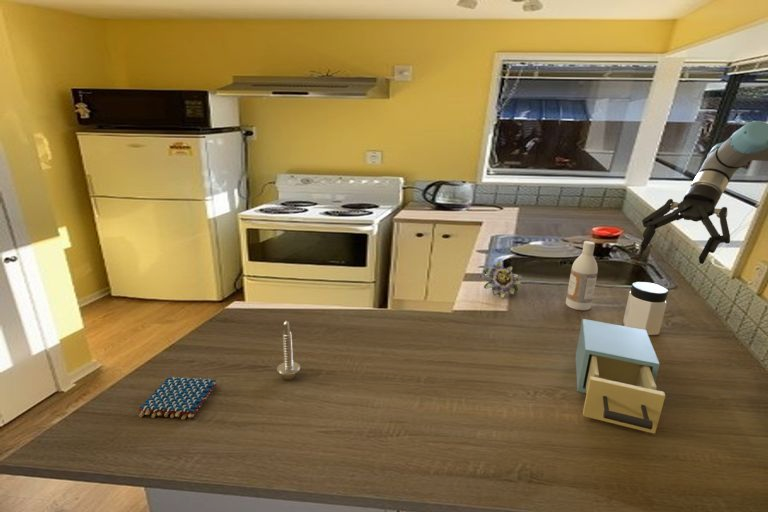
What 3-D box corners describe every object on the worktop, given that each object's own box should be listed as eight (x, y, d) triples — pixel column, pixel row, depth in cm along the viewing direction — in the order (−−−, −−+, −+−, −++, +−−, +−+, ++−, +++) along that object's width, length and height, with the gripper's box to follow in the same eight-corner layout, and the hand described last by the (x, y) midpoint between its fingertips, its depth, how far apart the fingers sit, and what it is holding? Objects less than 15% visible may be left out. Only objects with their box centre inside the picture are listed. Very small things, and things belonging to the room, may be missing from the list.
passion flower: (499, 313, 134) (485, 288, 127) (485, 293, 143) (471, 270, 137) (530, 294, 133) (518, 268, 126) (513, 276, 142) (501, 251, 136)
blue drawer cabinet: (648, 407, 83) (659, 364, 79) (577, 391, 87) (585, 349, 84) (636, 368, 96) (646, 329, 93) (575, 356, 100) (582, 318, 97)
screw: (296, 367, 93) (304, 379, 89) (274, 374, 90) (281, 386, 86) (293, 313, 88) (302, 323, 85) (270, 318, 86) (278, 328, 82)
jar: (643, 320, 119) (653, 281, 115) (666, 334, 111) (677, 292, 108) (615, 322, 118) (623, 282, 114) (636, 336, 110) (646, 294, 106)
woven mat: (167, 383, 86) (166, 374, 85) (218, 386, 86) (217, 377, 85) (136, 417, 76) (134, 408, 76) (194, 421, 76) (192, 411, 75)
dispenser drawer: (661, 456, 69) (673, 416, 67) (584, 436, 73) (592, 397, 71) (642, 390, 86) (651, 356, 84) (580, 376, 90) (586, 344, 88)
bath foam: (561, 301, 130) (572, 238, 124) (583, 301, 131) (595, 239, 124) (571, 311, 124) (583, 245, 118) (595, 311, 124) (607, 246, 118)
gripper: (763, 208, 109) (728, 275, 105) (656, 193, 127) (623, 249, 123) (764, 189, 104) (728, 258, 100) (653, 177, 122) (619, 234, 118)
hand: (670, 253), depth 111 cm, fingers open, 13 cm apart
